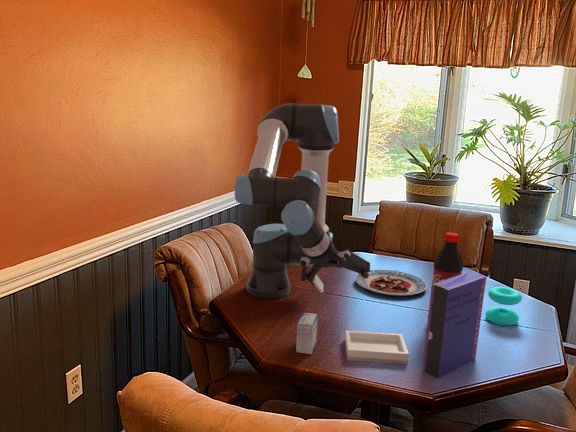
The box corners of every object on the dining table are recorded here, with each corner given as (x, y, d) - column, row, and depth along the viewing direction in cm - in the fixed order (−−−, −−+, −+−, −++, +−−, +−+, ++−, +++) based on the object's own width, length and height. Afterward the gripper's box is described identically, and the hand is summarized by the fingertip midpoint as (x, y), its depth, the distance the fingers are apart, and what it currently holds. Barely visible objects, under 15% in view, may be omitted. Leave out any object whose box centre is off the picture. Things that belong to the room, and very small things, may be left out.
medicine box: (311, 355, 151) (313, 325, 149) (295, 352, 152) (297, 323, 150) (316, 342, 159) (318, 313, 157) (300, 340, 160) (302, 311, 158)
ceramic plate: (429, 303, 192) (430, 295, 191) (353, 296, 195) (354, 288, 195) (423, 278, 216) (424, 271, 216) (356, 272, 220) (357, 265, 219)
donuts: (485, 291, 176) (493, 283, 184) (481, 321, 179) (489, 311, 187) (518, 299, 171) (525, 290, 179) (513, 329, 173) (521, 319, 181)
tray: (345, 340, 161) (345, 330, 160) (401, 343, 160) (402, 334, 160) (347, 360, 149) (347, 349, 149) (407, 364, 149) (408, 353, 148)
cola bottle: (436, 334, 167) (447, 237, 160) (421, 322, 175) (431, 229, 168) (460, 332, 170) (473, 236, 163) (445, 320, 178) (456, 229, 171)
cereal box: (460, 352, 157) (470, 270, 151) (475, 359, 153) (486, 275, 148) (422, 370, 146) (431, 283, 140) (437, 378, 142) (448, 289, 137)
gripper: (272, 264, 149) (303, 302, 164) (362, 250, 140) (386, 292, 155) (275, 241, 154) (305, 280, 169) (363, 226, 144) (386, 268, 159)
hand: (344, 285), depth 162 cm, fingers open, 13 cm apart
